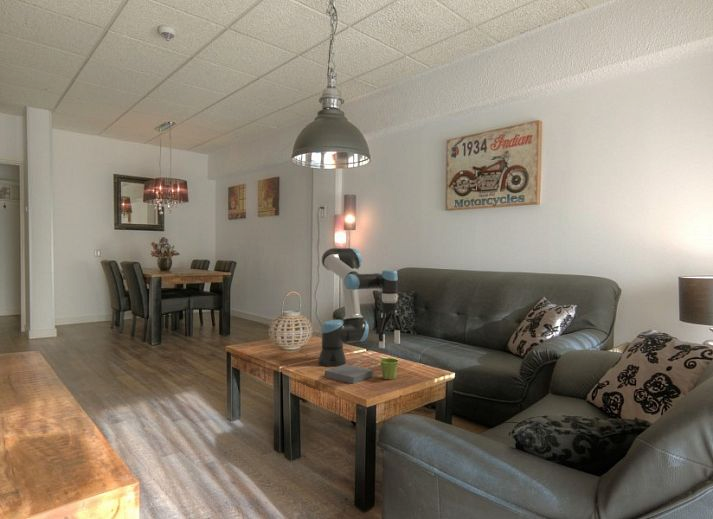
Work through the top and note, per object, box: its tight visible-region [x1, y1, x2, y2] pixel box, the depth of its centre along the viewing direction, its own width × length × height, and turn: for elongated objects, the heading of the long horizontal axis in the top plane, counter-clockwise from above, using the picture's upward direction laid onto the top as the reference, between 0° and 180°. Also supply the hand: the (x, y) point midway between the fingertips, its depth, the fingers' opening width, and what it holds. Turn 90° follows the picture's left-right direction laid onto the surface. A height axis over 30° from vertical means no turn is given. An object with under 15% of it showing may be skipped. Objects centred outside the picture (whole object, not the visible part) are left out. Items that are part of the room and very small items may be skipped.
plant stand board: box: [324, 363, 374, 384], centre depth 210 cm, size 18×16×3 cm
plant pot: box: [379, 357, 400, 381], centre depth 207 cm, size 9×9×9 cm
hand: (389, 345), depth 207 cm, fingers open, 13 cm apart
